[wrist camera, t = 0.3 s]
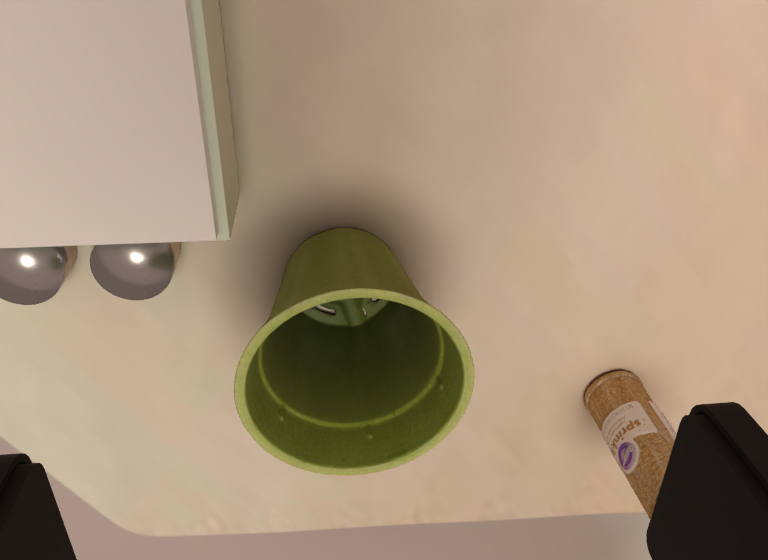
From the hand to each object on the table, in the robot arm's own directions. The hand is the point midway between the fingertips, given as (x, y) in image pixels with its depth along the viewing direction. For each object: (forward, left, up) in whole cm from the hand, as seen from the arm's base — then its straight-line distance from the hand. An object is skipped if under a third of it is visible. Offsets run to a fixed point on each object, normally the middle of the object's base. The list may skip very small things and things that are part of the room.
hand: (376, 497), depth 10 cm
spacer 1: (+10, -17, -29) cm, 36 cm away
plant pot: (+13, +1, -30) cm, 32 cm away
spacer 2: (+10, -11, -29) cm, 33 cm away
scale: (0, -12, -29) cm, 32 cm away
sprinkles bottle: (+24, +21, -30) cm, 44 cm away
